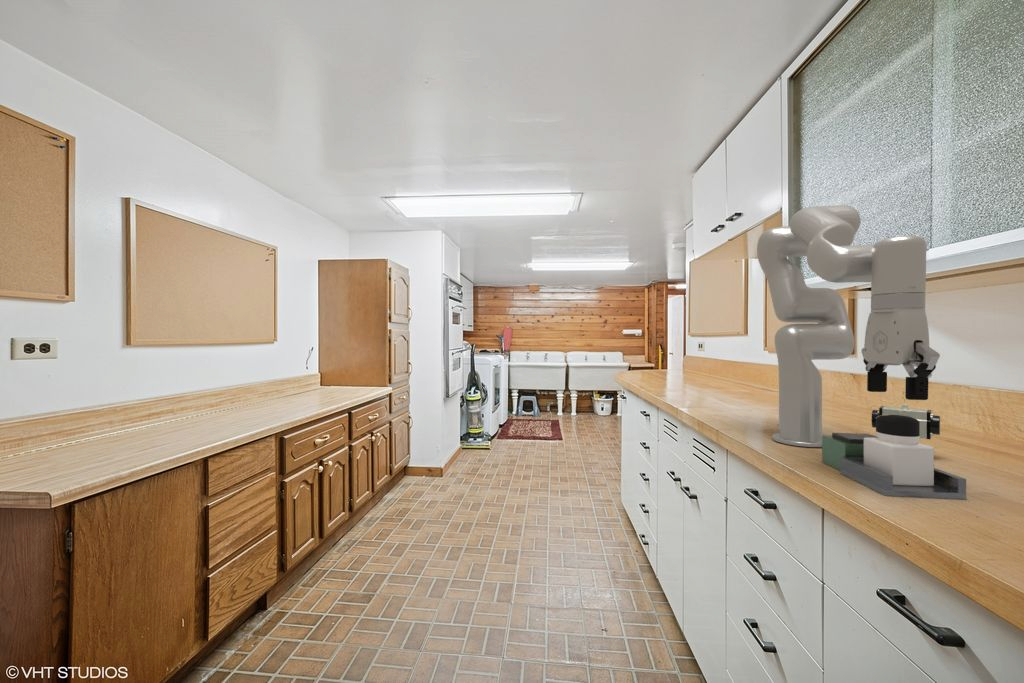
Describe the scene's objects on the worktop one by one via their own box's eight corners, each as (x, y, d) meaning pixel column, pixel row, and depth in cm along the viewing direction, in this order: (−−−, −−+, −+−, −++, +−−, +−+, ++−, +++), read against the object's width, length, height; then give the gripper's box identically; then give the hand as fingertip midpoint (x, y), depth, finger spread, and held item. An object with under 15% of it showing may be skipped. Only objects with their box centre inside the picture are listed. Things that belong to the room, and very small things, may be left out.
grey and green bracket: (816, 461, 94) (816, 431, 94) (877, 464, 92) (877, 433, 92) (885, 495, 73) (885, 456, 73) (966, 499, 72) (966, 459, 72)
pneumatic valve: (874, 448, 106) (874, 400, 106) (940, 457, 98) (940, 405, 98) (870, 452, 102) (870, 402, 102) (939, 462, 94) (939, 408, 94)
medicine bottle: (935, 486, 75) (935, 419, 75) (892, 485, 76) (892, 419, 76) (901, 474, 82) (901, 412, 82) (862, 473, 83) (862, 412, 83)
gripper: (845, 307, 88) (844, 388, 88) (911, 301, 71) (909, 402, 71) (885, 306, 87) (883, 389, 87) (962, 301, 70) (960, 403, 70)
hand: (895, 395), depth 79 cm, fingers open, 9 cm apart
